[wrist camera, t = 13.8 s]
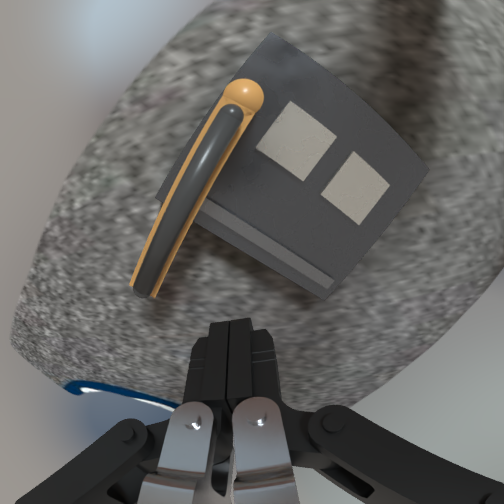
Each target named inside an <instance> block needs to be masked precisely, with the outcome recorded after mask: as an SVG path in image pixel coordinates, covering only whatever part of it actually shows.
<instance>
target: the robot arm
mask: <svg viewBox="0 0 504 504" xmlns="http://www.w3.org/2000/svg"><path fill="white" fill-rule="evenodd" d="M190 360H191V361H190V363H189V370H188V374H187V380H186V386H185V392H184V398H183V403H182V405H180V406H179V407H178V408H176V409H175V410H174V412H173V413H172V415H171V417H170V419H168V420H165V421H162V422H159V423H155V424H151V425H147V426H145V425H144V424H143V423H142V422H141V421H139V420H137V419H125V420H122V421H120V422H118V423H117V424H116V425H115V426H114V427H112V428H111V429H110V430H109V431H107V432H106V433H105V434H104V435H103V436H101V437H100V438H99V439H98V440H96V441H95V442H94V443H93V444H91V445H90V446H89V447H88V448H86V449H85V450H84V451H82V452H81V453H80V454H79V455H77V456H76V457H75V458H74V459H72V460H71V461H70V462H68V463H67V464H66V465H65V466H63V467H62V468H61V469H59V470H58V471H57V472H55V473H54V474H53V475H51V476H50V477H49V478H47V479H46V480H45V481H43V482H42V483H40V484H39V485H38V486H36V487H35V488H34V489H32V490H31V491H29V492H28V493H27V494H25V495H24V496H22V497H21V498H20V499H18V500H17V501H16V503H15V504H232V503H231V497H230V495H231V484H232V474H233V463H234V449H235V459H236V471H237V476H236V479H235V480H234V486H233V489H234V490H233V492H234V503H235V504H300V501H299V497H298V492H297V487H296V483H295V478H294V473H293V469H292V466H298V467H305V468H313V469H314V470H316V471H317V472H318V473H319V474H321V475H322V476H324V477H325V478H327V479H328V480H330V481H331V482H332V483H334V484H335V485H337V486H338V487H340V488H342V489H343V490H344V491H346V492H347V493H349V494H351V495H352V496H354V497H355V498H357V499H359V500H360V501H362V502H364V503H365V504H504V484H503V483H501V482H499V481H495V480H493V479H490V478H488V477H485V476H483V475H480V474H478V473H475V472H472V471H470V470H468V469H466V468H463V467H461V466H459V465H456V464H454V463H452V462H450V461H447V460H445V459H443V458H441V457H439V456H437V455H434V454H432V453H430V452H428V451H426V450H424V449H422V448H420V447H418V446H416V445H414V444H412V443H410V442H408V441H407V440H405V439H403V438H401V437H399V436H397V435H395V434H393V433H391V432H390V431H388V430H386V429H384V428H382V427H380V426H379V425H377V424H375V423H373V422H372V421H370V420H368V419H366V418H365V417H363V416H361V415H360V414H358V413H356V412H355V411H353V410H351V409H349V408H347V407H345V406H342V405H329V406H325V407H323V408H321V409H319V410H317V411H316V412H315V413H314V412H304V411H297V410H294V409H292V408H290V407H288V406H287V405H285V404H284V403H283V401H282V398H281V390H280V381H279V373H278V365H277V359H276V354H275V349H274V343H273V338H272V336H271V335H270V334H269V333H268V331H267V330H266V329H262V330H256V331H254V330H253V326H252V322H251V318H244V319H237V320H231V321H223V322H215V323H211V324H210V328H209V336H208V337H202V338H199V339H198V340H197V342H196V343H195V345H194V346H193V348H192V352H191V357H190ZM233 436H234V447H233Z"/></svg>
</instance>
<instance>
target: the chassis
mask: <svg viewBox="0 0 504 504" xmlns="http://www.w3.org/2000/svg"><path fill="white" fill-rule="evenodd" d="M237 79H249V80H252V81H254V82H256V83H257V84H258V85H259V86H260V87H261V89H262V91H263V94H264V100H263V104H262V106H261V108H260V109H259V110H258V111H257V112H256V113H255V114H254V116H253V117H252V119H251V121H250V122H249V124H248V125H247V127H246V129H245V130H244V132H243V134H242V135H241V137H240V139H239V140H238V142H237V144H236V145H235V147H234V149H233V150H232V152H231V154H230V155H229V157H228V159H227V160H226V162H225V164H224V166H223V167H222V169H221V171H220V173H219V174H218V176H217V178H216V180H215V181H214V183H213V185H212V187H211V188H210V190H209V192H208V194H207V196H206V198H205V199H204V201H203V203H202V205H201V207H200V209H199V210H198V212H197V214H196V216H195V218H194V220H193V221H194V222H195V223H197V224H198V225H200V226H202V227H203V228H205V229H207V230H208V231H210V232H212V233H213V234H215V235H217V236H218V237H220V238H222V239H223V240H225V241H226V242H228V243H230V244H231V245H233V246H235V247H236V248H238V249H240V250H241V251H243V252H245V253H246V254H248V255H250V256H251V257H253V258H255V259H256V260H258V261H259V262H261V263H263V264H264V265H266V266H268V267H269V268H271V269H273V270H274V271H276V272H278V273H279V274H281V275H283V276H284V277H286V278H288V279H289V280H291V281H293V282H294V283H296V284H298V285H299V286H301V287H303V288H304V289H306V290H308V291H309V292H311V293H313V294H314V295H316V296H318V297H319V298H321V299H323V300H325V299H326V298H327V297H328V296H329V295H330V294H331V293H332V292H333V290H334V289H335V288H336V287H337V286H338V285H339V284H340V283H341V282H342V280H343V279H344V278H345V277H346V276H347V275H348V274H349V272H350V271H351V270H352V269H353V268H354V267H355V265H356V264H357V263H358V262H359V261H360V260H361V258H362V257H363V256H364V255H365V254H366V252H367V251H368V250H369V249H370V248H371V246H372V245H373V244H374V243H375V242H376V240H377V239H378V238H379V237H380V235H381V234H382V233H383V232H384V230H385V229H386V228H387V227H388V225H389V224H390V223H391V222H392V220H393V219H394V218H395V216H396V215H397V214H398V212H399V211H400V210H401V208H402V207H403V206H404V205H405V203H406V202H407V200H408V199H409V198H410V196H411V195H412V194H413V192H414V191H415V190H416V188H417V187H418V185H419V184H420V183H421V181H422V180H423V178H424V177H425V176H426V174H427V173H428V171H429V168H428V167H427V166H426V165H425V163H424V162H423V161H422V160H421V159H420V158H419V156H418V155H417V154H416V153H415V152H414V151H413V150H412V148H411V147H410V146H409V145H408V144H407V143H406V142H405V141H404V140H403V139H402V138H401V136H400V135H399V134H398V133H397V132H396V131H395V130H394V129H393V128H392V127H391V126H390V125H389V124H388V123H387V122H386V121H385V120H384V119H383V118H382V117H381V116H380V115H379V114H378V113H377V112H376V111H375V110H373V109H372V108H371V107H370V106H369V105H368V104H367V103H366V102H365V101H364V100H363V99H361V98H360V97H359V96H358V95H357V94H356V93H355V92H353V91H352V90H351V89H350V88H349V87H348V86H346V85H345V84H344V83H343V82H342V81H340V80H339V79H338V78H337V77H335V76H334V75H333V74H332V73H330V72H329V71H328V70H326V69H325V68H324V67H322V66H321V65H320V64H318V63H317V62H316V61H314V60H313V59H312V58H310V57H309V56H307V55H306V54H304V53H303V52H302V51H300V50H299V49H297V48H296V47H294V46H293V45H291V44H290V43H288V42H287V41H285V40H283V39H282V38H280V37H279V36H277V35H275V34H274V33H272V32H270V33H269V34H268V36H267V37H266V38H265V39H264V40H263V41H262V42H261V44H260V45H259V46H258V47H257V48H256V50H255V51H254V52H253V53H252V54H251V56H250V57H249V58H248V59H247V61H246V62H245V63H244V64H243V66H242V67H241V68H240V69H239V71H238V72H237V73H236V74H235V76H234V77H233V78H232V80H231V81H230V82H229V84H230V83H231V82H233V81H235V80H237ZM227 86H228V85H227ZM227 86H226V87H227ZM224 90H225V89H224ZM224 90H223V92H224ZM223 92H222V93H221V94H220V96H219V97H218V99H217V100H216V101H215V103H214V104H213V106H212V107H211V108H210V110H209V111H208V113H207V114H206V116H205V117H204V119H203V120H202V122H201V123H200V125H199V126H198V128H197V129H196V131H195V132H194V134H193V135H192V137H191V138H190V140H189V141H188V143H187V144H186V146H185V148H184V149H183V151H182V152H181V154H180V156H179V157H178V159H177V161H176V162H175V164H174V166H173V167H172V169H171V171H170V172H169V174H168V176H167V177H166V179H165V181H164V183H163V184H162V186H161V188H160V190H159V191H158V193H157V195H156V197H155V198H156V199H157V200H159V201H161V202H162V203H164V202H165V200H166V198H167V196H168V193H169V191H170V189H171V187H172V185H173V183H174V181H175V179H176V177H177V175H178V173H179V171H180V170H181V168H182V166H183V164H184V162H185V160H186V158H187V156H188V154H189V153H190V151H191V149H192V147H193V145H194V143H195V142H196V140H197V138H198V136H199V134H200V133H201V131H202V129H203V127H204V126H205V124H206V122H207V120H208V119H209V117H210V115H211V114H212V112H213V110H214V109H215V107H216V105H217V104H218V102H219V101H220V99H221V97H222V96H223Z"/></svg>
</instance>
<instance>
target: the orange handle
mask: <svg viewBox="0 0 504 504" xmlns="http://www.w3.org/2000/svg"><path fill="white" fill-rule="evenodd" d="M263 100H264V94H263V91H262V89H261V87H260V86H259V85H258V84H257V83H256V82H254V81H252V80H249V79H237V80H235V81H233V82H231V83H230V84H228V86H227V87H226V88H225V90H224V92H223V96H222V97H221V99H220V101H219V102H218V104H217V105H216V107H215V109H214V110H213V112H212V114H211V115H210V117H209V119H208V120H207V122H206V124H205V126H204V127H203V129H202V131H201V133H200V134H199V136H198V138H197V140H196V142H195V143H194V145H193V147H192V149H191V151H190V153H189V154H188V156H187V158H186V160H185V162H184V164H183V166H182V168H181V170H180V171H179V173H178V175H177V177H176V179H175V181H174V183H173V185H172V187H171V189H170V191H169V193H168V196H167V198H166V200H165V202H164V204H163V206H162V208H161V210H160V212H159V215H158V217H157V219H156V221H155V223H154V226H153V228H152V230H151V232H150V235H149V237H148V239H147V242H146V244H145V246H144V249H143V251H142V254H141V256H140V258H139V261H138V263H137V266H136V268H135V271H134V273H133V276H132V279H131V281H130V284H129V285H130V286H132V287H133V291H134V293H135V295H136V296H138V297H139V298H147V297H149V296H152V297H154V298H155V297H156V294H157V292H158V290H159V288H160V286H161V284H162V282H163V279H164V277H165V275H166V273H167V271H168V269H169V267H170V265H171V263H172V261H173V259H174V257H175V255H176V253H177V251H178V249H179V247H180V245H181V243H182V241H183V239H184V237H185V235H186V233H187V231H188V229H189V227H190V225H191V224H192V222H193V220H194V218H195V216H196V214H197V212H198V210H199V209H200V207H201V205H202V203H203V201H204V199H205V198H206V196H207V194H208V192H209V190H210V188H211V187H212V185H213V183H214V181H215V180H216V178H217V176H218V174H219V173H220V171H221V169H222V167H223V166H224V164H225V162H226V160H227V159H228V157H229V155H230V154H231V152H232V150H233V149H234V147H235V145H236V144H237V142H238V140H239V139H240V137H241V135H242V134H243V132H244V130H245V129H246V127H247V125H248V124H249V122H250V121H251V119H252V117H253V116H254V114H255V113H256V112H257V111H258V110H259V109H260V108H261V106H262V104H263Z"/></svg>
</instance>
